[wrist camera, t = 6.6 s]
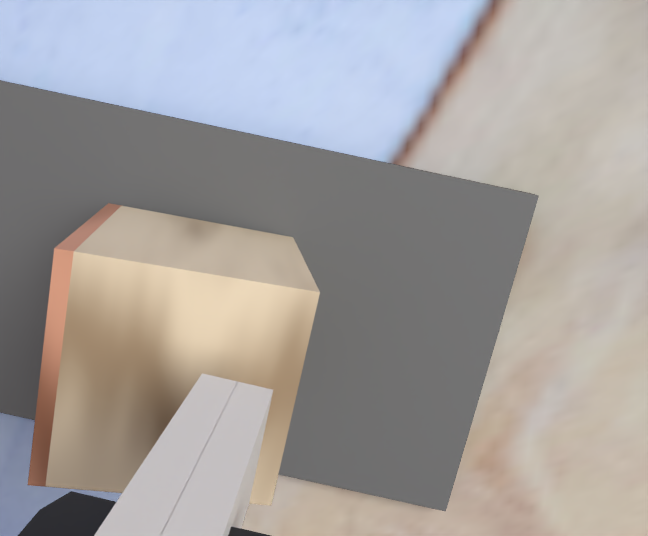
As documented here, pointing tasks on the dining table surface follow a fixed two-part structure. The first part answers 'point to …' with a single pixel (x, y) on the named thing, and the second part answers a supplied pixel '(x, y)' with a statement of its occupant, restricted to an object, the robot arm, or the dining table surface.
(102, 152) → the mat
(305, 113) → the dining table surface
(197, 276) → the cube
